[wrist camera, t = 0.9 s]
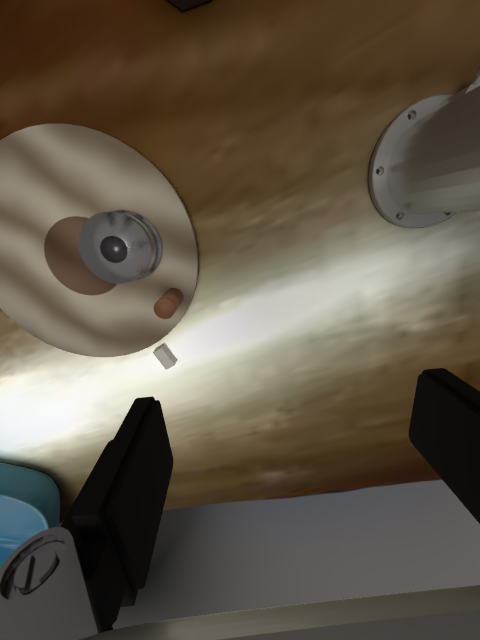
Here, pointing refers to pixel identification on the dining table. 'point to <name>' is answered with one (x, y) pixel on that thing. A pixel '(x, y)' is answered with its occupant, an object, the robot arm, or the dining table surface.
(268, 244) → the dining table surface
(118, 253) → the cover
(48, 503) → the casserole dish
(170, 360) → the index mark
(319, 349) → the dining table surface
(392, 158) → the robot arm
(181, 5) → the beer bottle
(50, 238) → the turntable
